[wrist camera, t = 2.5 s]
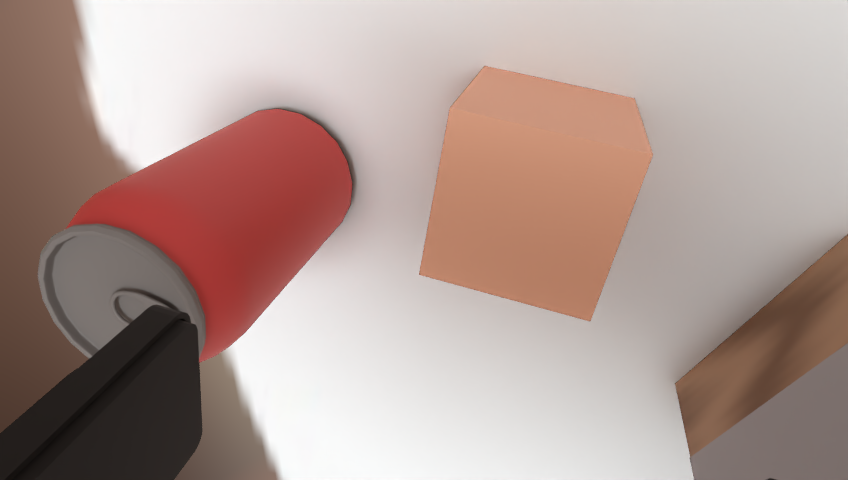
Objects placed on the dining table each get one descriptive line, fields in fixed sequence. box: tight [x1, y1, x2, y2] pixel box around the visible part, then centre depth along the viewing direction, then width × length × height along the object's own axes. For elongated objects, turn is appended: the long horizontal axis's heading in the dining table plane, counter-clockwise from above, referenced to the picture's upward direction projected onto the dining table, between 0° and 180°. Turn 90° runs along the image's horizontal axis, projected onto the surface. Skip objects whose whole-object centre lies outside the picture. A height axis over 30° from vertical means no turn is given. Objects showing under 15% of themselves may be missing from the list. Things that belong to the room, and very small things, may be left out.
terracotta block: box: [419, 66, 653, 321], centre depth 21 cm, size 6×6×7 cm
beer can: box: [38, 109, 352, 363], centre depth 22 cm, size 7×7×12 cm
